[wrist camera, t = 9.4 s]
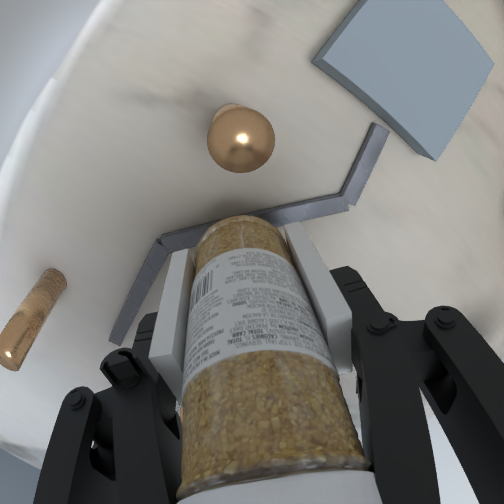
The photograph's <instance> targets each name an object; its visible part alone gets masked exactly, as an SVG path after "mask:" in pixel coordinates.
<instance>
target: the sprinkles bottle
mask: <svg viewBox="0 0 504 504" xmlns="http://www.w3.org/2000/svg"><path fill="white" fill-rule="evenodd" d="M194 262H195V269H196V271H195V279H194V282H193V286H192V290H191V298H190V307H189V316H188V325H187V334H186V345H185V358H184V371H183V386H182V405H183V421H182V462H181V472H182V474H181V478H182V483H181V486H180V487H179V489H178V490H177V493H176V498H177V500H178V501H179V502H178V503H177V504H382V501H381V498H380V495H379V492H378V489H377V485H376V482H375V474H374V473H373V472H369V470H370V467H371V465H372V463H371V461H370V460H368V459H367V458H366V457H365V454H364V451H363V448H362V445H361V442H360V440H359V439H358V433H357V431H356V429H355V426H354V424H353V422H352V418H351V415H350V413H349V409H348V406H347V404H346V400H345V398H344V396H343V392H342V388H341V386H340V383H339V381H340V378H339V374H338V371H337V368H336V366H335V363H334V360H333V358H332V355H331V353H330V350H329V348H328V345H327V343H326V340H325V338H324V335H323V333H322V331H321V328H320V325H319V323H318V321H317V318H316V316H315V313H314V311H313V308H312V306H311V303H310V301H309V298H308V296H307V293H306V291H305V289H304V286H303V284H302V282H301V279H300V277H299V275H298V273H297V272H296V270H295V269H294V266H293V264H292V262H291V259H290V257H289V250H288V246H287V244H286V241H285V239H284V238H283V236H282V235H281V233H280V231H279V230H278V229H277V228H276V227H274V226H273V225H271V224H270V223H269V222H267V221H265V220H263V219H260V218H258V217H254V216H247V215H240V216H232V217H229V218H226V219H223V220H221V221H219V222H218V223H215V224H214V225H212V226H211V227H210V228H208V230H207V231H206V232H205V234H204V235H203V236H202V237H201V239H200V242H199V243H198V245H197V247H196V251H195V259H194Z"/></svg>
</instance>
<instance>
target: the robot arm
mask: <svg viewBox="0 0 504 504" xmlns="http://www.w3.org/2000/svg"><path fill="white" fill-rule="evenodd" d="M284 229H285V235H286V240H287V245H288V250H289V256H290V259H291V262H292V264H293V266H294V269H295V270H296V272H297V273H298V275H299V277H300V279H301V282H302V284H303V286H304V289H305V291H306V293H307V296H308V298H309V301H310V303H311V306H312V308H313V311H314V313H315V316H316V318H317V321H318V323H319V325H320V328H321V331H322V333H323V335H324V338H325V340H326V343H327V345H328V348H329V350H330V353H331V355H332V358H333V360H334V363H335V366H336V368H337V371H338V374H339V375H343V374H346V373H349V372H352V369H353V364H354V367H355V369H356V371H357V383H356V394H357V393H358V399H359V409H360V419H361V431H362V445H363V451H364V454H365V457H366V458H367V459H368V460H370V461H371V463H372V465H371V467H370V470H369V472H373V473H374V474H375V482H376V485H377V489H378V492H379V495H380V498H381V501H382V504H440V495H439V488H438V481H437V473H436V467H435V462H434V456H433V449H432V444H431V439H430V434H429V429H428V424H427V420H426V415H425V411H424V406H423V402H422V398H421V394H420V390H419V387H420V389H421V391H422V392H423V394H424V396H425V398H426V400H427V401H428V403H429V405H430V407H431V408H432V410H433V412H434V414H435V416H436V418H437V419H438V421H439V423H440V425H441V427H442V428H443V430H444V432H445V434H446V436H447V438H448V440H449V442H450V444H451V446H452V447H453V449H454V452H455V454H456V456H457V457H458V459H459V461H460V463H461V466H462V468H463V470H464V472H465V474H466V476H467V478H468V480H469V482H470V484H471V486H472V488H473V491H474V493H475V495H476V497H477V499H478V501H479V504H504V363H503V362H502V361H501V359H500V358H499V357H498V356H497V354H496V353H495V352H494V351H493V349H492V348H491V347H490V346H489V345H488V343H487V342H486V341H485V340H484V339H483V337H482V336H481V335H480V334H479V333H478V331H477V330H476V329H475V328H474V327H473V326H472V324H471V323H470V322H469V321H468V320H467V319H466V318H465V316H464V315H463V314H462V313H461V312H460V311H458V310H457V309H455V308H453V307H450V306H438V307H434V308H433V309H431V310H430V311H429V312H428V313H427V315H426V317H425V320H419V321H400V320H398V318H397V317H396V316H394V315H393V314H391V313H388V312H385V311H384V310H383V309H382V307H381V306H380V304H379V303H378V301H377V300H376V298H375V297H374V295H373V294H372V292H371V291H370V289H369V288H368V287H367V285H366V283H365V282H364V281H363V279H362V278H361V276H360V275H359V273H358V272H357V271H356V270H354V269H352V268H350V267H349V266H345V267H341V268H337V269H333V270H330V271H329V270H328V268H327V267H326V265H325V263H324V261H323V260H322V258H321V256H320V254H319V253H318V251H317V249H316V248H315V246H314V244H313V242H312V241H311V239H310V237H309V236H308V234H307V232H306V231H305V229H304V227H303V226H302V224H301V222H300V221H298V222H294V223H290V224H286V225H284ZM195 271H196V269H195V266H194V263H193V260H192V258H191V255H190V252H189V249H184V250H180V251H176V252H173V254H172V257H171V261H170V265H169V269H168V273H167V277H166V281H165V285H164V289H163V293H162V297H161V302H160V306H159V310H158V312H154V313H150V314H146V315H145V316H144V317H143V319H142V320H141V321H140V323H139V325H138V329H137V332H136V333H137V335H136V336H135V340H134V341H135V342H134V343H133V347H132V349H130V348H120V349H117V350H115V351H113V352H111V353H110V354H108V355H107V356H106V357H105V358H104V360H103V361H102V363H101V366H100V370H101V371H102V373H103V374H104V375H105V377H106V378H107V379H108V380H109V382H110V383H111V384H112V387H110V388H108V389H106V390H103V391H100V392H98V393H95V394H94V393H93V392H92V390H90V389H89V388H88V387H83V386H82V387H77V388H75V389H73V390H71V391H70V392H69V393H68V394H67V395H66V397H65V398H64V400H63V402H62V405H61V408H60V411H59V414H58V417H57V420H56V423H55V426H54V429H53V432H52V435H51V438H50V442H49V445H48V448H47V451H46V455H45V458H44V462H43V466H42V469H41V473H40V477H39V481H38V485H37V489H36V493H35V497H34V502H33V504H177V503H178V502H179V501H178V500H177V498H176V493H177V490H178V489H179V487H180V486H181V483H182V478H181V474H182V472H181V462H182V423H181V419H180V417H179V415H178V413H177V412H176V410H175V407H176V400H177V402H178V403H179V405H180V406H181V407H182V408H183V405H182V386H183V371H184V358H185V345H186V334H187V325H188V316H189V307H190V298H191V290H192V286H193V282H194V279H195ZM92 441H94V445H93V447H92V448H91V445H92Z"/></svg>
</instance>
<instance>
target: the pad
mask: <svg viewBox="0 0 504 504" xmlns="http://www.w3.org/2000/svg"><path fill="white" fill-rule="evenodd" d="M311 63H313V64H314V65H316V66H317V67H318V68H320V69H321V70H323V71H324V72H325V73H327V74H328V75H329V76H331V77H332V78H333V79H335V80H336V81H337V82H338V83H340V84H341V85H342V86H344V87H345V88H346V89H347V90H349V91H350V92H351V93H352V94H353V95H355V96H356V97H357V98H358V99H360V100H361V101H362V102H363V103H364V104H365V105H367V106H368V107H369V108H370V109H371V110H372V111H374V112H375V113H376V114H377V115H378V116H379V117H380V118H381V119H383V120H384V121H385V122H386V123H387V124H388V125H389V126H390V127H391V128H392V129H393V130H394V131H396V132H397V133H398V134H399V135H400V136H401V137H402V138H403V139H404V140H405V141H406V142H407V143H408V144H409V145H410V146H411V147H412V148H413V149H414V150H415V151H416V152H417V153H418V154H419V155H422V156H424V157H426V158H429V159H431V160H434V161H437V160H438V158H439V157H440V155H441V154H442V152H443V151H444V149H445V148H446V146H447V144H448V143H449V141H450V140H451V138H452V137H453V135H454V133H455V132H456V130H457V129H458V127H459V125H460V124H461V122H462V121H463V119H464V117H465V116H466V114H467V112H468V111H469V109H470V107H471V105H472V104H473V102H474V100H475V99H476V97H477V95H478V93H479V92H480V90H481V88H482V86H483V84H484V83H485V81H486V79H487V77H488V75H489V73H490V72H491V70H492V68H493V66H494V63H493V61H492V60H491V58H490V57H489V55H488V54H487V53H486V51H485V50H484V49H483V47H482V46H481V45H480V43H479V42H478V41H477V39H476V38H475V37H474V36H473V34H472V33H471V32H470V31H469V29H468V28H467V27H466V26H465V24H464V23H463V22H462V21H461V20H460V19H459V17H458V16H457V15H456V14H455V13H454V12H453V11H452V10H451V8H450V7H449V6H448V5H447V4H446V3H445V2H444V1H443V0H359V1H358V3H357V4H356V5H355V6H354V8H353V9H352V10H351V11H350V13H349V14H348V15H347V16H346V18H345V19H344V20H343V22H342V23H341V24H340V25H339V27H338V28H337V29H336V31H335V32H334V33H333V34H332V36H331V37H330V38H329V40H328V41H327V42H326V44H325V45H324V46H323V48H322V49H321V50H320V52H319V53H318V54H317V56H316V57H315V58H314V60H313V61H312V62H311Z"/></svg>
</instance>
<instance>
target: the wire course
mask: <svg viewBox="0 0 504 504" xmlns="http://www.w3.org/2000/svg"><path fill="white" fill-rule="evenodd" d="M389 133H390V131H389V130H387V129H385V128H383V127H382V126H380V125H378V124H376V123H372V125H371V127H370V129H369V132H368V134H367V136H366V138H365V140H364V143H363V145H362V147H361V149H360V151H359V154H358V156H357V158H356V160H355V162H354V164H353V167H352V169H351V171H350V173H349V175H348V177H347V179H346V181H345V183H344V186H343V188H342V190H341V192H340V193H338V194H333V195H328V196H324V197H319V198H314V199H309V200H305V201H300V202H296V203H291V204H287V205H282V206H278V207H273V208H269V209H264V210H260V211H256V212H251V213H247V214H243V215H247V216H254V217H258V218H260V219H263V220H265V221H267V222H269V223H270V224H271V225H273V226H274V227H279V226H283V225H286V224H290V223H294V222H298V221H305V220H309V219H314V218H318V217H323V216H327V215H332V214H336V213H341V212H345V211H349V207H348V203H349V204H351V205H354V206H355V205H356V203H357V201H358V199H359V197H360V195H361V193H362V191H363V188H364V186H365V184H366V182H367V180H368V178H369V176H370V174H371V172H372V170H373V168H374V165H375V163H376V161H377V159H378V157H379V155H380V153H381V150H382V148H383V146H384V144H385V142H386V139H387V137H388V135H389ZM207 145H208V150H209V153H210V155H211V157H212V158H213V160H214V161H215V162H216V163H217V164H218V165H219V166H221V167H222V168H224V169H226V170H228V171H231V172H235V173H246V172H250V171H253V170H256V169H258V168H259V167H261V166H262V165H263V164H264V163H265V162H266V161H267V160H268V159H269V158H270V156H271V154H272V152H273V149H274V145H275V135H274V131H273V128H272V126H271V124H270V122H269V121H268V120H267V118H265V117H264V116H263V115H262V114H261V113H259V112H257V111H255V110H252V109H250V108H247V107H244V106H241V105H238V104H227V105H224V106H223V107H221V108H220V109H219V110H218V111H217V112H216V114H215V116H214V119H213V121H212V124H211V127H210V129H209V132H208V137H207ZM239 216H240V215H239ZM222 220H223V219H222ZM219 221H221V220H218V221H214V222H210V223H206V224H202V225H198V226H194V227H190V228H186V229H182V230H178V231H174V232H170V233H166V234H162V236H161V238H160V239H161V240H160V239H158V238H157V240H156V242H155V243H154V245H153V247H152V249H151V251H150V253H149V255H148V257H147V259H146V261H145V263H144V265H143V267H142V269H141V271H140V273H139V275H138V277H137V279H136V281H135V283H134V285H133V287H132V289H131V291H130V294H129V296H128V298H127V300H126V302H125V304H124V306H123V308H122V311H121V313H120V315H119V317H118V319H117V322H116V324H115V326H114V328H113V331H112V333H111V335H110V338H109V341H110V342H112V343H114V344H117V345H119V346H121V344H122V341H123V339H124V337H125V335H126V333H127V331H128V329H129V327H130V325H131V323H132V321H133V319H134V317H135V315H136V313H137V311H138V309H139V307H140V305H141V304H142V302H143V300H144V298H145V296H146V294H147V292H148V290H149V288H150V286H151V284H152V283H153V281H154V279H155V277H156V275H157V273H158V271H159V270H160V268H161V266H162V264H163V262H164V260H165V259H166V257H167V255H168V253H169V252H173V251H177V250H182V249H186V248H190V247H194V246H197V245H198V243H199V242H200V239H201V237H202V236H203V235H204V234H205V232H206V231H207V230H208V228H210V227H211V226H212V225H214V224H215V223H218V222H219ZM65 289H66V280H65V278H64V276H63V275H62V274H61V273H60V272H59V271H57V270H55V269H48V270H46V271H45V273H44V274H43V275H42V276H41V278H40V279H39V280H38V282H37V283H36V284H35V286H34V287H33V288H32V290H31V291H30V292H29V294H28V295H27V296H26V298H25V299H24V300H23V302H22V303H21V305H20V306H19V307H18V309H17V310H16V312H15V313H14V315H13V316H12V318H11V319H10V320H9V322H8V323H7V325H6V326H5V328H4V329H3V331H2V333H1V334H0V364H1V365H2V366H4V367H5V368H7V369H9V370H11V371H18V370H19V369H20V367H21V365H22V363H23V361H24V359H25V357H26V356H27V354H28V352H29V350H30V348H31V346H32V344H33V342H34V341H35V339H36V337H37V335H38V334H39V332H40V330H41V328H42V326H43V325H44V323H45V321H46V320H47V318H48V316H49V315H50V313H51V311H52V310H53V308H54V306H55V305H56V303H57V301H58V300H59V298H60V297H61V295H62V293H63V292H64V290H65ZM180 419H181V423H182V421H183V408H182V407H180Z"/></svg>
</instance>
